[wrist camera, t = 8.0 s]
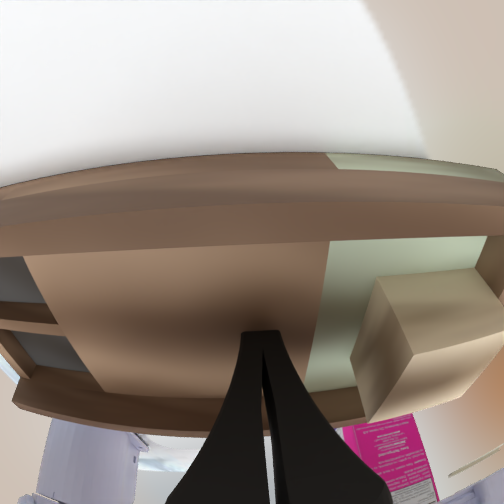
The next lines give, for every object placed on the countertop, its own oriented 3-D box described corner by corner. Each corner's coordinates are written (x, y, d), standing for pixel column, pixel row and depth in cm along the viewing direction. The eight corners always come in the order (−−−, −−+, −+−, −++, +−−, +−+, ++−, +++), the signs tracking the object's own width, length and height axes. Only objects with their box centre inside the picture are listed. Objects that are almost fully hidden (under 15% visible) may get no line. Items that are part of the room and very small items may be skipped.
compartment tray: (415, 361, 17) (432, 405, 14) (34, 368, 16) (19, 408, 13) (496, 169, 9) (550, 210, 6) (-60, 205, 9) (-100, 245, 6)
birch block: (435, 342, 13) (460, 397, 10) (349, 358, 13) (367, 423, 10) (474, 267, 10) (516, 326, 8) (376, 276, 10) (413, 355, 7)
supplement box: (382, 424, 24) (406, 527, 14) (325, 433, 23) (343, 546, 14) (410, 396, 20) (445, 517, 11) (346, 407, 20) (373, 544, 11)
